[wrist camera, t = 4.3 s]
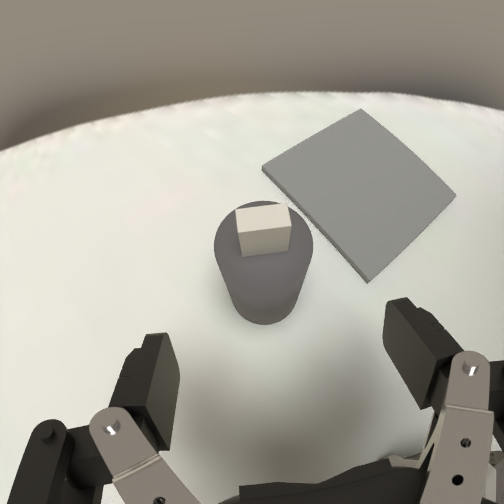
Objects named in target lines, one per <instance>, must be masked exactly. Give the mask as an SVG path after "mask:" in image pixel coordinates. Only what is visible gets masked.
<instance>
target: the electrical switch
mask: <svg viewBox="0 0 504 504" xmlns="http://www.w3.org/2000/svg"><path fill="white" fill-rule="evenodd" d="M421 453H422V452H421ZM421 453H420V454H418V455H415V456H412V457H410V458H407V459H403V458H402V456H397V455H390V456H388V457H386V458H389V460H390V463H391V465H392V466H406V467H413V468H416V465H417V463H418V461H419V458H420V456H421ZM386 458H385V459H386ZM503 458H504V453H503V451H490V457H489V464H488V470H487V475H486V481H485V486H484V491H483V495H482V497H483V498H486V499H488V500H491V501H493V502H496V503H498V504H504V459H503ZM499 499H500V500H499Z"/></svg>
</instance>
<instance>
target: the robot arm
mask: <svg viewBox="0 0 504 504" xmlns="http://www.w3.org/2000/svg"><path fill="white" fill-rule="evenodd" d="M383 344H384V347H385V350H386V352H387V353H388V355H389V357H390V358H391V360H392V362H393V363H394V365H395V367H396V368H397V370H398V372H399V373H400V375H401V377H402V378H403V380H404V382H405V384H406V385H407V387H408V389H409V390H410V392H411V394H412V396H413V397H414V399H415V401H416V403H417V404H418V406H419V408H420V410H422V409H425V408H428V407H431V406H432V408H433V409H434V412H433V415H432V418H431V422H430V425H429V429H428V433H427V436H426V440H425V443H424V446H423V449H422V453H421V456H420V458H419V461H418V463H417V465H416V468H413V467H406V466H392V465H391V463H390V460H389V458H386V459H382V460H379V461H375V462H372V463H368V464H365V465H361V466H357V467H354V468H352V469H350V470H348V471H345V472H343V473H341V474H339V475H337V476H335V477H333V478H330V479H328V480H326V481H324V482H321V483H318V484H304V483H284V482H273V483H265V484H256V485H245V486H239V493H240V495H238V496H235V497H232V498H229V499H227V500H224V501H223V502H221V503H219V504H498V503H496V502H493V501H491V500H488V499H486V498H483V497H482V495H483V491H484V486H485V481H486V475H487V470H488V464H489V457H490V450H491V442H492V433H493V435H494V437H495V438H496V440H497V442H498V444H499V446H500V448H501V449H502V451H503V453H504V360H503V361H493V362H488V360H487V359H486V358H485V357H484V356H483V355H481V354H479V353H477V352H473V351H464V350H463V349H462V348H461V347H460V345H459V344H458V343H457V342H456V341H455V340H454V338H453V337H452V336H451V335H450V334H449V333H448V332H447V330H444V327H443V326H442V325H441V324H440V323H439V321H438V320H437V319H436V318H435V317H434V316H433V315H432V314H431V313H430V312H428V311H426V310H424V309H422V308H421V307H420V308H416V306H415V305H414V304H413V303H412V302H411V301H410V300H409V299H408V298H407V297H405V298H400V299H396V300H391V301H388V302H387V304H386V310H385V319H384V327H383ZM179 382H180V371H179V366H178V362H177V359H176V356H175V353H174V350H173V347H172V344H171V341H170V338H169V335H168V334H167V333H154V334H146V336H145V338H144V341H143V344H142V347H141V348H135V349H134V350H133V351H132V352H131V353H130V354H129V355H128V356H127V357H126V359H125V362H124V364H123V367H122V370H121V373H120V375H119V378H118V381H117V384H116V386H115V389H114V392H113V395H112V398H111V401H110V404H109V406H108V408H105V409H103V410H101V411H99V412H98V413H97V414H95V415H94V417H93V418H92V419H91V421H90V424H89V425H86V426H82V427H77V428H72V429H67V428H66V427H65V425H64V424H63V423H62V422H61V421H59V420H55V419H50V420H46V421H43V422H41V423H40V424H38V425H37V426H36V427H35V428H34V430H33V432H32V434H31V436H30V439H29V441H28V444H27V446H26V449H25V452H24V454H23V457H22V460H21V463H20V465H19V468H18V471H17V474H16V477H15V480H14V483H13V486H12V489H11V492H10V495H9V499H8V502H7V504H101V499H102V493H103V487H104V485H105V484H111V483H113V484H114V486H115V487H116V489H117V491H118V492H119V494H120V496H121V497H122V499H123V501H124V502H125V504H200V503H199V501H198V500H197V499H196V498H195V497H194V496H193V495H192V494H191V492H190V491H189V490H188V489H187V488H186V487H185V485H184V484H183V483H182V482H181V481H180V480H179V478H178V477H177V476H176V475H175V473H174V472H173V471H172V470H171V469H170V467H169V466H168V465H167V463H166V462H165V461H164V460H163V458H162V457H161V456H160V455H158V453H159V451H170V444H171V436H172V429H173V422H174V415H175V408H176V401H177V395H178V388H179Z"/></svg>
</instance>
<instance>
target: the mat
mask: <svg viewBox="0 0 504 504" xmlns="http://www.w3.org/2000/svg"><path fill="white" fill-rule="evenodd" d="M262 171H263V172H264V173H265V174H266V175H267V176H268V177H269V178H270V179H271V180H272V181H273V182H274V183H275V184H276V185H277V186H278V187H279V188H280V189H281V190H282V191H283V192H284V193H285V194H286V195H287V196H288V197H289V198H290V199H291V200H292V201H293V202H294V204H295V205H296V206H297V207H298V208H299V209H300V210H301V211H302V212H303V213H304V214H305V215H306V216H307V217H308V218H309V219H310V220H311V221H312V223H313V224H314V225H315V226H316V227H317V228H318V229H319V230H320V231H321V232H322V233H323V234H324V235H325V237H326V238H327V239H328V240H329V241H330V242H331V243H332V244H333V245H334V246H335V247H336V249H337V250H338V251H339V252H340V253H341V254H342V255H343V256H344V257H345V259H346V260H347V261H348V262H349V263H350V264H351V265H352V266H353V268H354V269H355V270H356V271H357V272H358V273H359V274H360V275H361V277H362V278H363V279H364V280H365V281H366V282H367V283H368V282H370V281H371V280H372V279H373V278H374V277H375V276H376V275H377V274H378V273H379V272H381V271H382V270H383V269H384V268H385V267H386V266H387V265H388V264H389V263H390V262H391V261H392V260H393V259H394V258H395V257H397V256H398V255H399V254H400V253H401V252H402V251H403V250H404V249H405V248H406V247H407V246H408V245H409V244H410V243H411V242H412V241H413V240H414V239H415V238H416V237H417V236H418V235H419V234H420V233H421V232H422V231H423V230H424V229H425V228H426V227H427V226H428V225H429V224H430V223H431V222H432V221H433V220H434V219H435V218H436V217H437V216H438V215H439V214H440V213H441V212H442V211H443V210H444V209H445V207H446V206H447V205H448V204H449V203H450V202H451V201H452V200H453V199H454V198H455V197H456V194H455V193H454V192H453V191H452V190H451V189H450V188H449V187H448V186H447V185H446V184H445V183H444V182H443V181H442V180H441V179H440V178H439V177H438V176H437V175H436V174H435V173H434V172H433V171H432V170H431V169H430V168H429V167H428V166H427V165H426V164H425V163H424V162H423V161H422V160H421V159H420V158H419V157H418V156H417V155H415V154H414V153H413V152H412V151H411V150H410V149H409V148H408V147H407V146H405V145H404V144H403V143H402V142H401V141H400V140H399V139H398V138H396V137H395V136H394V135H393V134H392V133H391V132H389V131H388V130H387V129H386V128H385V127H383V126H382V125H381V124H380V123H378V122H377V121H376V120H375V119H374V118H372V117H371V116H370V115H369V114H367V113H366V112H365V111H363V110H362V109H359V110H358V111H356V112H354V113H352V114H350V115H348V116H347V117H345V118H343V119H341V120H339V121H337V122H336V123H334V124H332V125H330V126H329V127H327V128H325V129H323V130H321V131H320V132H318V133H316V134H314V135H313V136H311V137H309V138H308V139H306V140H304V141H302V142H301V143H299V144H297V145H296V146H294V147H292V148H291V149H289V150H287V151H285V152H284V153H282V154H280V155H279V156H277V157H275V158H274V159H272V160H271V161H269V162H267V163H266V164H264V165H262Z"/></svg>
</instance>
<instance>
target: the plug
mask: <svg viewBox="0 0 504 504" xmlns="http://www.w3.org/2000/svg"><path fill="white" fill-rule="evenodd" d="M214 252H215V257H216V261H217V263H218V266H219V268H220V271H221V273H222V276H223V279H224V281H225V284H226V286H227V289H228V291H229V294H230V296H231V299H232V301H233V303H234V306H235V308H236V309H237V311H238V312H239V314H240V315H241V316H242V317H244V318H245V319H247V320H248V321H250V322H252V323H256V324H261V325H268V324H273V323H276V322H279V321H281V320H282V319H284V318H285V317H286V316H288V315H289V313H290V312H291V311H292V309H293V308H294V306H295V303H296V301H297V298H298V295H299V292H300V290H301V287H302V284H303V281H304V278H305V275H306V273H307V270H308V267H309V264H310V261H311V258H312V253H313V239H312V235H311V231H310V229H309V227H308V225H307V224H306V222H305V221H304V219H303V218H302V217H301V216H300V215H299V214H298V213H297V212H295V211H294V210H293V209H291V208H289V207H288V206H287V203H282V204H280V203H277V202H271V201H256V202H251V203H248V204H245V205H242V206H240V207H238V208H237V209H235V210H233V211H232V212H231V213H230V214H228V215H227V216H226V217H225V219H224V220H223V221H222V223H221V224H220V226H219V228H218V230H217V232H216V236H215V241H214Z"/></svg>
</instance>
